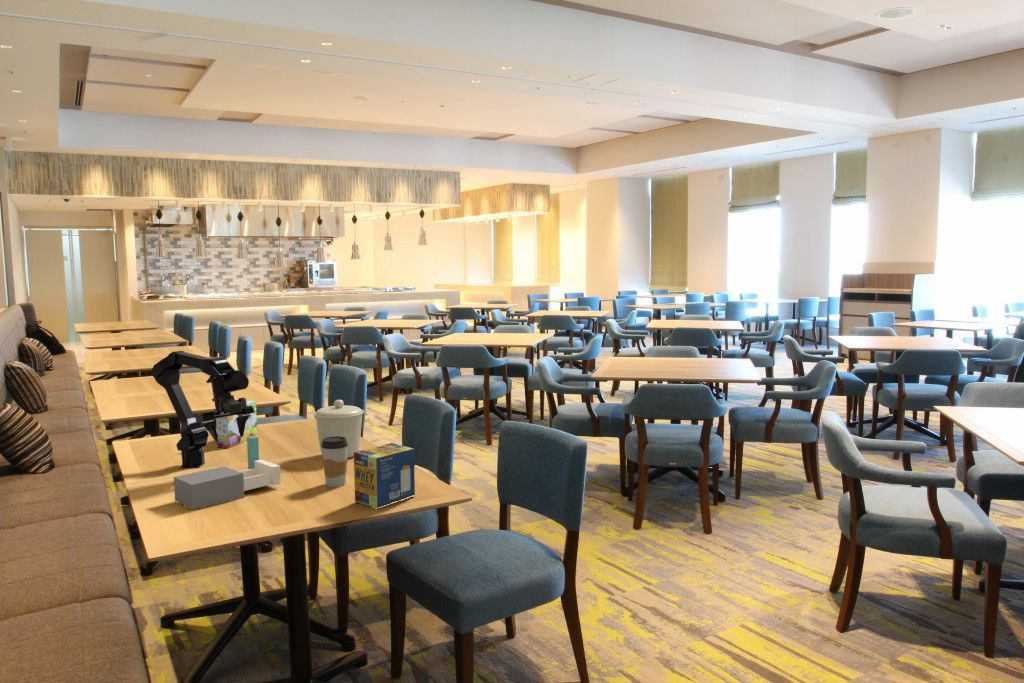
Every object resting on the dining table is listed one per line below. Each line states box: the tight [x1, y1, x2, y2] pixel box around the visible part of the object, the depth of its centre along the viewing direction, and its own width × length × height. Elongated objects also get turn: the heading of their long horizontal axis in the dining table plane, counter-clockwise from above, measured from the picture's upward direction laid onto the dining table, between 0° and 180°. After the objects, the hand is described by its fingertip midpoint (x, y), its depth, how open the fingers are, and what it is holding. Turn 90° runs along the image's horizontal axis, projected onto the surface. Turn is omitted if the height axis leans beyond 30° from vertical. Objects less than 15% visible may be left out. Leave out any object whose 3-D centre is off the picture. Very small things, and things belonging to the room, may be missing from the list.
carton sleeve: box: [173, 465, 245, 510], centre depth 234 cm, size 16×12×8 cm
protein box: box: [353, 442, 416, 509], centre depth 232 cm, size 10×15×16 cm
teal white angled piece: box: [239, 436, 281, 492], centre depth 244 cm, size 17×16×13 cm
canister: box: [313, 399, 365, 459], centre depth 284 cm, size 18×18×21 cm
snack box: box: [215, 400, 258, 449], centre depth 307 cm, size 21×6×15 cm, turn 168°
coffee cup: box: [321, 436, 348, 488], centre depth 248 cm, size 8×8×15 cm
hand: (229, 439), depth 262 cm, fingers open, 9 cm apart
